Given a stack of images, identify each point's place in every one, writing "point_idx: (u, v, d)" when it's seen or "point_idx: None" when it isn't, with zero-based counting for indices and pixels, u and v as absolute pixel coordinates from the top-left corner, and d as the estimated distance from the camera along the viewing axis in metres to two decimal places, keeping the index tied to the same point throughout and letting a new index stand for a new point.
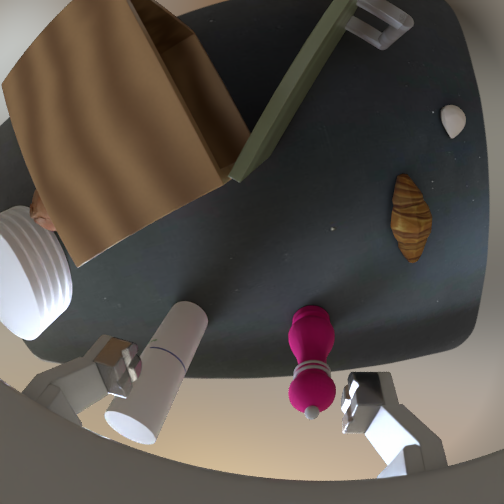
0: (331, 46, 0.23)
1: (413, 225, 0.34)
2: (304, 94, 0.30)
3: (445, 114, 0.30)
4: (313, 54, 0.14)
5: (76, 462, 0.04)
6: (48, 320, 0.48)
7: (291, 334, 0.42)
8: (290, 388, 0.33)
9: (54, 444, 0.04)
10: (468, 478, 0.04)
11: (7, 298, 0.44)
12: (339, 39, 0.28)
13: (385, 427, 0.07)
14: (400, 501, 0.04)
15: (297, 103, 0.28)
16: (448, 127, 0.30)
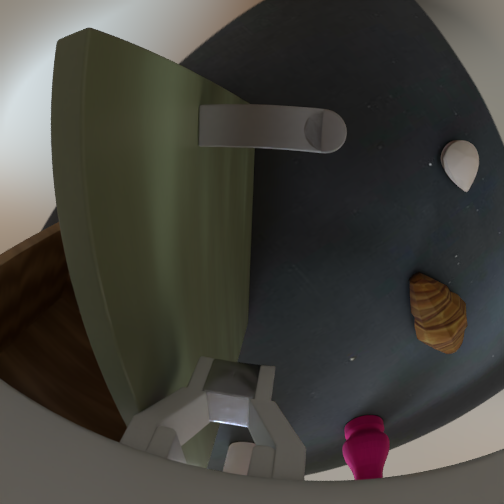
0: (229, 214, 0.17)
1: (443, 336, 0.24)
2: (242, 266, 0.24)
3: (449, 165, 0.20)
4: None
5: (76, 462, 0.04)
6: None
7: (344, 456, 0.33)
8: None
9: (54, 444, 0.04)
10: (468, 478, 0.04)
11: None
12: None
13: (255, 423, 0.08)
14: (400, 501, 0.04)
15: (233, 306, 0.21)
16: (458, 181, 0.21)
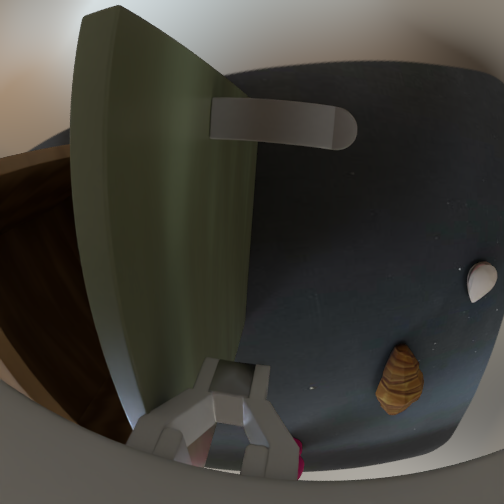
0: (233, 211, 0.17)
1: (398, 401, 0.28)
2: (242, 264, 0.24)
3: (474, 279, 0.24)
4: None
5: (76, 462, 0.04)
6: None
7: None
8: None
9: (54, 444, 0.04)
10: (468, 478, 0.04)
11: None
12: None
13: (250, 422, 0.08)
14: (400, 501, 0.04)
15: (233, 304, 0.21)
16: (472, 293, 0.25)
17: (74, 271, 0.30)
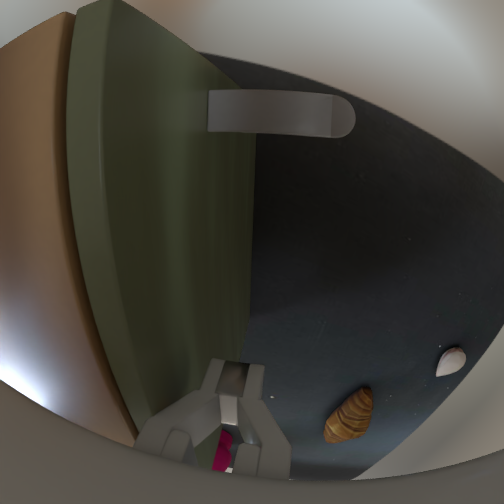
0: (233, 206, 0.17)
1: (345, 434, 0.32)
2: (244, 260, 0.23)
3: (448, 359, 0.28)
4: None
5: (76, 462, 0.04)
6: None
7: None
8: None
9: (54, 444, 0.04)
10: (468, 478, 0.04)
11: None
12: (253, 133, 0.22)
13: (243, 421, 0.08)
14: (400, 501, 0.04)
15: (236, 301, 0.21)
16: (441, 369, 0.29)
17: None
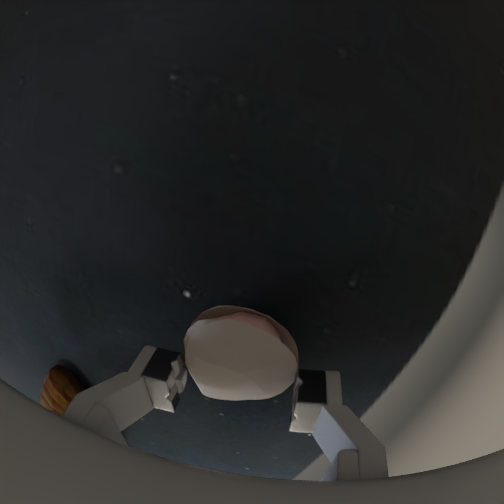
0: None
1: None
2: None
3: (192, 344, 0.09)
4: None
5: (76, 462, 0.04)
6: None
7: None
8: None
9: (54, 444, 0.04)
10: (468, 478, 0.04)
11: None
12: None
13: (327, 428, 0.07)
14: (400, 501, 0.04)
15: None
16: (193, 376, 0.10)
17: None
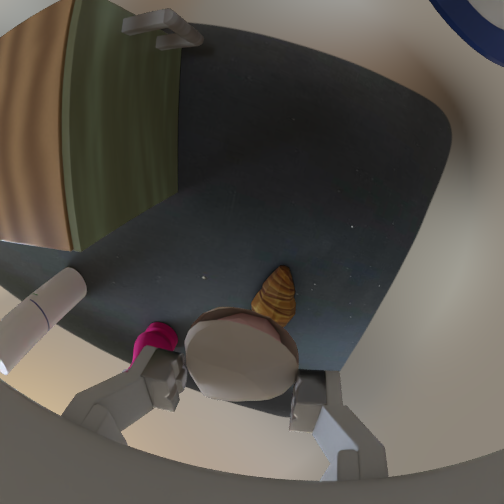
0: (145, 79, 0.25)
1: (267, 314, 0.41)
2: (163, 128, 0.32)
3: (193, 345, 0.09)
4: (69, 130, 0.17)
5: (76, 462, 0.04)
6: None
7: (137, 340, 0.46)
8: None
9: (54, 444, 0.04)
10: (468, 478, 0.04)
11: None
12: (175, 58, 0.31)
13: (327, 428, 0.07)
14: (400, 501, 0.04)
15: (150, 143, 0.30)
16: (193, 377, 0.10)
17: None
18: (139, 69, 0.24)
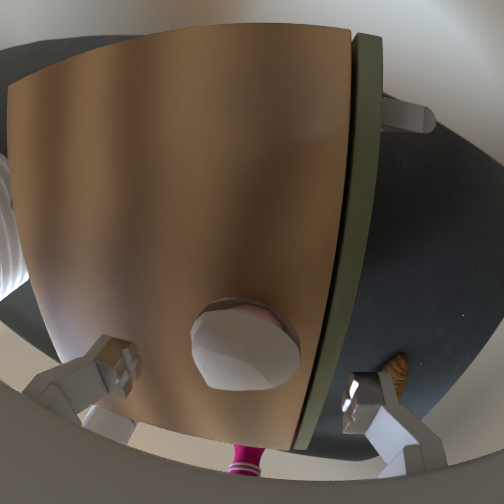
0: None
1: None
2: None
3: (199, 334, 0.10)
4: (340, 347, 0.12)
5: (76, 462, 0.04)
6: None
7: None
8: None
9: (54, 444, 0.04)
10: (468, 478, 0.04)
11: None
12: None
13: (385, 427, 0.07)
14: (400, 501, 0.04)
15: None
16: (199, 367, 0.11)
17: None
18: None
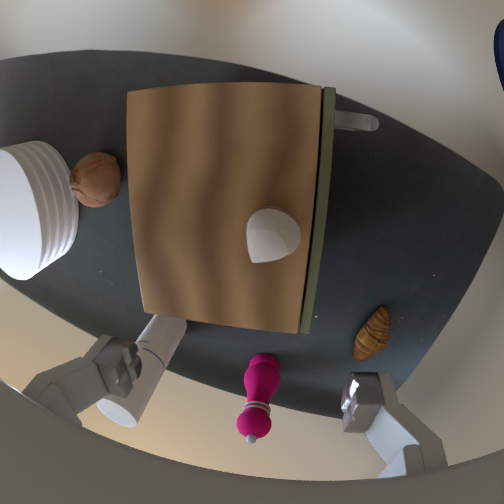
0: None
1: (371, 344, 0.48)
2: None
3: (253, 221, 0.22)
4: (322, 240, 0.24)
5: (76, 462, 0.04)
6: None
7: (250, 373, 0.53)
8: (241, 417, 0.44)
9: (54, 444, 0.04)
10: (468, 478, 0.04)
11: (5, 233, 0.43)
12: None
13: (385, 427, 0.07)
14: (400, 501, 0.04)
15: None
16: (249, 244, 0.22)
17: None
18: None
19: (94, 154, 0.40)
